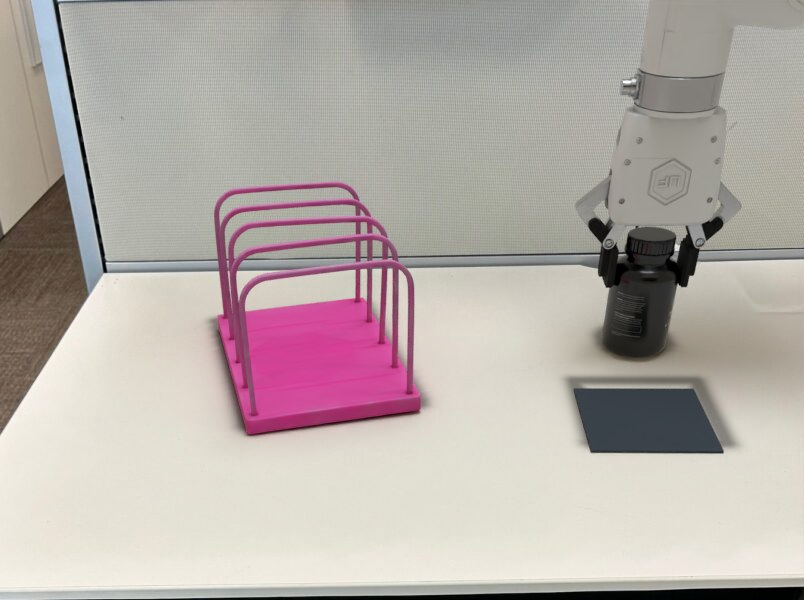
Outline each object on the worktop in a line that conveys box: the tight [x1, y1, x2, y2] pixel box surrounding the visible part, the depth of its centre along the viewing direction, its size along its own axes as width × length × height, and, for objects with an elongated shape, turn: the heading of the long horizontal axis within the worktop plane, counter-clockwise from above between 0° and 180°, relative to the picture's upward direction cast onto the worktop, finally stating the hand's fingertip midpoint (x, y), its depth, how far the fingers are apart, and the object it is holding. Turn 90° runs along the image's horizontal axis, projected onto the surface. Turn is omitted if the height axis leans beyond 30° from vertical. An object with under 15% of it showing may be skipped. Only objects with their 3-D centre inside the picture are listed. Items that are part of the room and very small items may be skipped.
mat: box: [573, 387, 725, 454], centre depth 89 cm, size 12×12×1 cm
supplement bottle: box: [601, 226, 680, 359], centre depth 97 cm, size 7×7×12 cm
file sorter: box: [213, 180, 422, 435], centre depth 94 cm, size 17×25×16 cm
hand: (644, 281), depth 96 cm, fingers closed on supplement bottle, 6 cm apart
